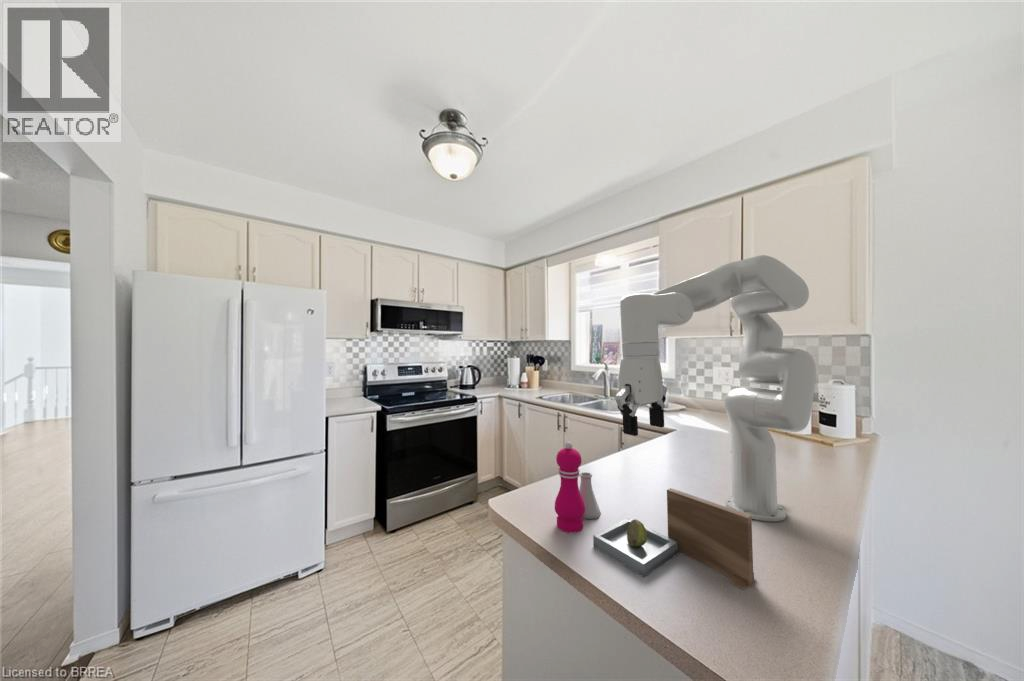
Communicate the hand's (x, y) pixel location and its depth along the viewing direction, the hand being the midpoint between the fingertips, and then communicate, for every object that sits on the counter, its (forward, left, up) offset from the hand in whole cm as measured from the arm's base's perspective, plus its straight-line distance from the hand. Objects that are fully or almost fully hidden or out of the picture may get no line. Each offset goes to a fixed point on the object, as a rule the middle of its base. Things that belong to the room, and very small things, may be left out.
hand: (644, 430), depth 72 cm
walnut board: (-4, +10, -25) cm, 27 cm away
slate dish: (+3, -1, -25) cm, 25 cm away
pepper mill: (+7, -16, -25) cm, 30 cm away
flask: (-1, -18, -25) cm, 31 cm away
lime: (+3, -1, -24) cm, 24 cm away
